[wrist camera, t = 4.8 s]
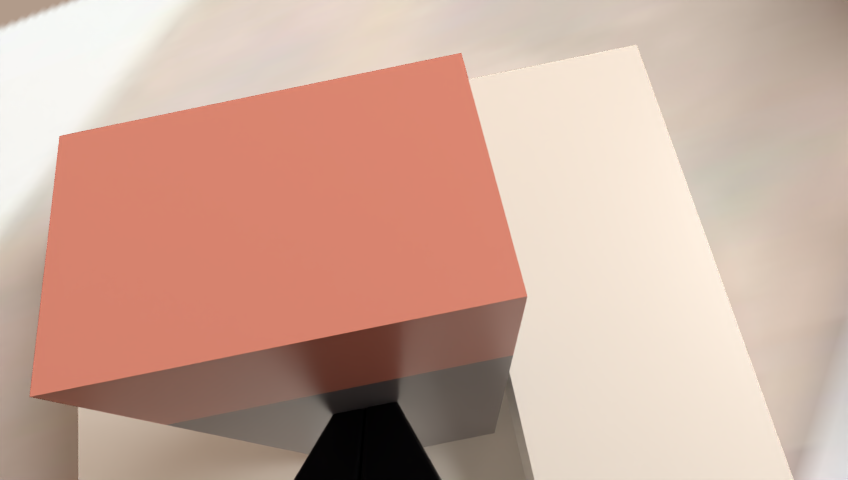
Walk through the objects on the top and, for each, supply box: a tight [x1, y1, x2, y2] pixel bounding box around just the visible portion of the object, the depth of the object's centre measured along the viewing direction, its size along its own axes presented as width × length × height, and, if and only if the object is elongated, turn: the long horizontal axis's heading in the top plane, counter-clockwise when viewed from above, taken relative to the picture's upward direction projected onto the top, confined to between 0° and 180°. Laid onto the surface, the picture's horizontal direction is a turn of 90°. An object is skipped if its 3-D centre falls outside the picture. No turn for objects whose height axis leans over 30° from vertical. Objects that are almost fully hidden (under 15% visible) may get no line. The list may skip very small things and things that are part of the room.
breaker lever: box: [30, 53, 527, 454], centre depth 10 cm, size 2×4×11 cm, turn 101°
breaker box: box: [78, 44, 793, 480], centre depth 15 cm, size 20×16×4 cm
